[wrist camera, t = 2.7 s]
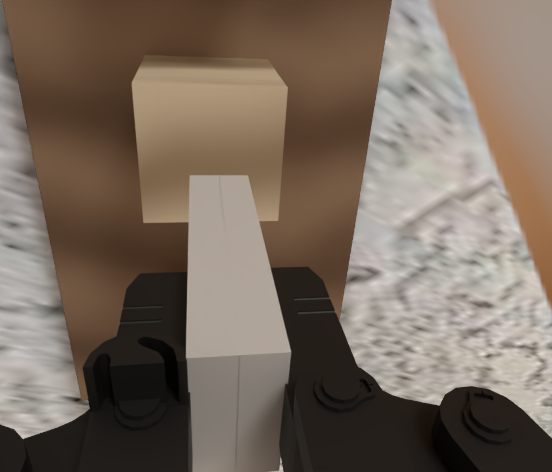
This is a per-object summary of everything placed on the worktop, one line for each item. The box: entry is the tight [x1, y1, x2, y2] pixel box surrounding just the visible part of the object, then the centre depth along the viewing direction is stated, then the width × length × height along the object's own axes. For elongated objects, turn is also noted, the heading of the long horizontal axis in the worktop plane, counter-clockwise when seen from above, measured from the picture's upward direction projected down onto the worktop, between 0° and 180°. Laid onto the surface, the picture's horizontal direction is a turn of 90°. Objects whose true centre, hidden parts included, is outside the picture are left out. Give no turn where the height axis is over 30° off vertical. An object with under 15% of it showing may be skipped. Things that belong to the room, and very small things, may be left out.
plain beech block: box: [132, 55, 288, 223], centre depth 19 cm, size 5×5×5 cm
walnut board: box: [2, 0, 392, 400], centre depth 22 cm, size 34×15×2 cm, turn 176°
